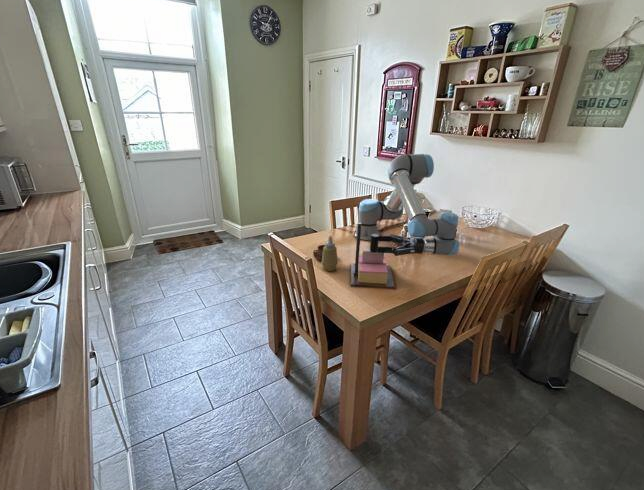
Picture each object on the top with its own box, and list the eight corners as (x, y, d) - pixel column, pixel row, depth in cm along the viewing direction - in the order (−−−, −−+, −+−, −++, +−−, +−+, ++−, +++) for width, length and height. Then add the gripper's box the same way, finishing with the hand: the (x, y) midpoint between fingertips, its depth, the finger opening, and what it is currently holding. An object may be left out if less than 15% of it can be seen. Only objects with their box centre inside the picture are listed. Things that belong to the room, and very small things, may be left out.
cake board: (350, 265, 171) (353, 215, 160) (389, 267, 169) (395, 217, 158) (350, 286, 151) (354, 231, 140) (394, 288, 149) (401, 233, 138)
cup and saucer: (321, 264, 171) (322, 253, 168) (308, 256, 180) (308, 246, 177) (339, 259, 177) (340, 248, 175) (326, 251, 186) (326, 241, 184)
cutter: (361, 262, 160) (364, 233, 153) (382, 263, 159) (385, 234, 153) (362, 265, 156) (364, 236, 150) (383, 266, 156) (386, 237, 149)
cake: (357, 265, 168) (358, 255, 166) (383, 267, 167) (384, 256, 165) (358, 282, 152) (359, 270, 150) (386, 283, 151) (388, 272, 149)
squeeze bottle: (330, 264, 172) (331, 231, 164) (340, 269, 166) (342, 236, 158) (318, 268, 167) (318, 235, 160) (327, 274, 161) (328, 240, 154)
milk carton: (445, 241, 203) (451, 212, 195) (434, 239, 206) (438, 210, 198) (447, 237, 209) (452, 209, 201) (435, 235, 212) (440, 207, 204)
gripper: (427, 264, 142) (378, 262, 143) (416, 242, 164) (374, 241, 166) (430, 249, 139) (379, 246, 140) (418, 228, 161) (375, 227, 163)
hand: (376, 243), depth 153 cm, fingers open, 13 cm apart
